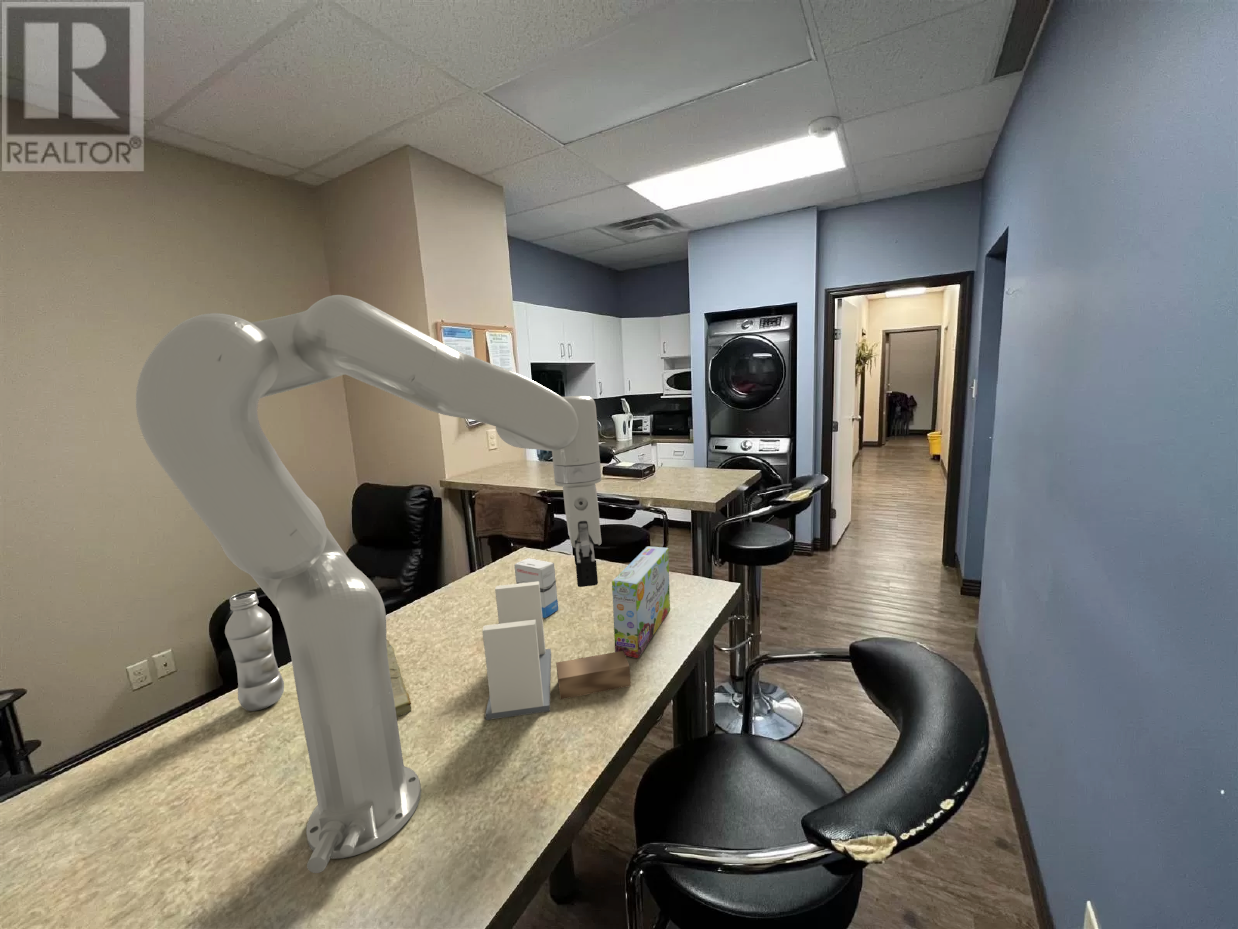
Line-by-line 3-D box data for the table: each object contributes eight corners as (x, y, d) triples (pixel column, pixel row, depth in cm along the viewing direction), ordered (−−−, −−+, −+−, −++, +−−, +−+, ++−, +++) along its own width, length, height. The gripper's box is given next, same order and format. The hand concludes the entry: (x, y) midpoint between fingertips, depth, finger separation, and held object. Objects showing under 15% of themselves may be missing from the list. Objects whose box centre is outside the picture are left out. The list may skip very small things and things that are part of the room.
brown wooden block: (624, 671, 87) (623, 650, 86) (630, 687, 82) (629, 666, 81) (558, 683, 84) (556, 662, 84) (560, 701, 79) (558, 679, 79)
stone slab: (384, 626, 103) (415, 688, 79) (387, 645, 104) (418, 711, 79) (317, 646, 96) (327, 720, 72) (320, 665, 97) (331, 745, 72)
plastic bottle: (282, 687, 88) (262, 584, 85) (290, 703, 83) (269, 594, 80) (238, 705, 83) (215, 596, 80) (243, 722, 79) (220, 608, 75)
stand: (549, 711, 77) (541, 623, 74) (486, 720, 75) (475, 631, 73) (551, 653, 93) (544, 580, 91) (498, 660, 92) (490, 586, 90)
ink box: (559, 609, 112) (555, 561, 110) (545, 619, 108) (540, 569, 106) (532, 603, 117) (528, 556, 115) (517, 611, 112) (513, 563, 111)
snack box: (641, 660, 89) (637, 583, 87) (614, 655, 91) (608, 581, 89) (672, 609, 109) (669, 546, 106) (648, 606, 111) (645, 544, 108)
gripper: (606, 481, 69) (614, 592, 72) (596, 463, 86) (603, 554, 89) (553, 485, 68) (564, 598, 71) (554, 466, 85) (562, 558, 88)
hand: (585, 573), depth 80 cm, fingers open, 9 cm apart
